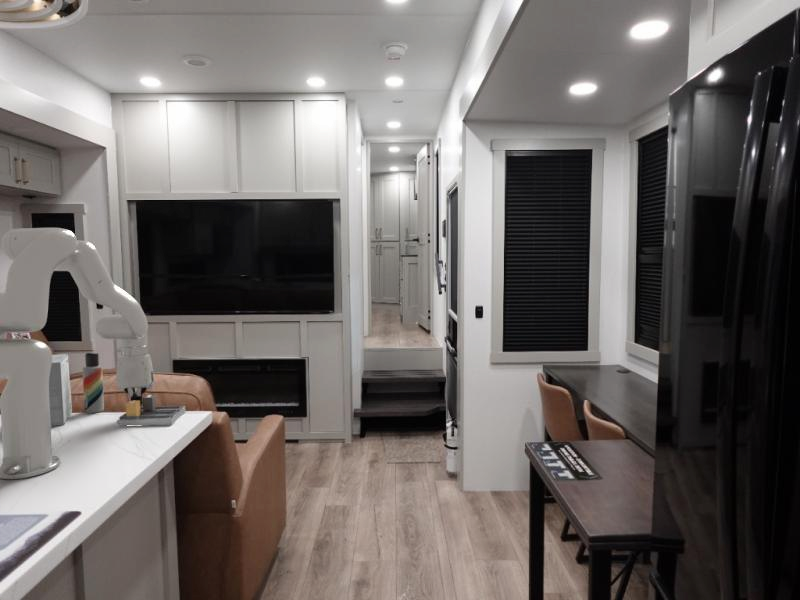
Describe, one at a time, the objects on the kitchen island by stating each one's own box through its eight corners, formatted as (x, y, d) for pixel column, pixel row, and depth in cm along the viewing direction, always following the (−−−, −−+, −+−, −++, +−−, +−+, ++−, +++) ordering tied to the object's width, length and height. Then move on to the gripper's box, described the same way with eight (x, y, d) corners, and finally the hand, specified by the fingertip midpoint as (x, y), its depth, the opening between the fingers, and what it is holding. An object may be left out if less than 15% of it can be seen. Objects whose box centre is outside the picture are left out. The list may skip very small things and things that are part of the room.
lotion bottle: (80, 412, 173) (77, 353, 171) (95, 408, 178) (92, 350, 177) (93, 414, 171) (91, 354, 170) (108, 409, 176) (105, 351, 175)
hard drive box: (44, 415, 170) (41, 355, 169) (72, 412, 173) (69, 353, 172) (34, 428, 156) (31, 363, 155) (64, 425, 159) (61, 361, 158)
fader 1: (136, 417, 160) (136, 402, 160) (126, 417, 160) (125, 402, 159) (140, 414, 163) (139, 399, 163) (130, 414, 163) (129, 400, 162)
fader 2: (152, 411, 166) (152, 397, 166) (143, 411, 166) (142, 397, 166) (156, 408, 169) (155, 394, 169) (146, 409, 169) (145, 395, 169)
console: (171, 424, 159) (171, 416, 159) (117, 427, 157) (116, 418, 157) (185, 412, 173) (185, 404, 173) (135, 413, 171) (135, 406, 171)
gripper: (104, 354, 161) (107, 411, 163) (154, 352, 163) (157, 410, 164) (114, 350, 169) (117, 405, 170) (162, 349, 171) (164, 403, 172)
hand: (136, 407), depth 167 cm, fingers closed
